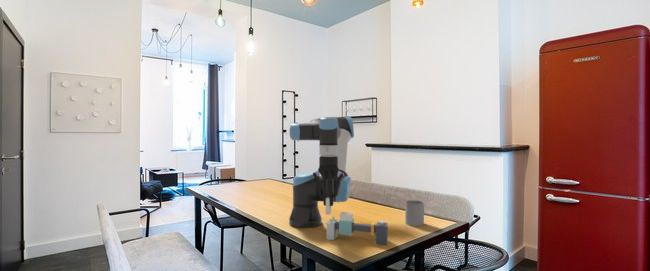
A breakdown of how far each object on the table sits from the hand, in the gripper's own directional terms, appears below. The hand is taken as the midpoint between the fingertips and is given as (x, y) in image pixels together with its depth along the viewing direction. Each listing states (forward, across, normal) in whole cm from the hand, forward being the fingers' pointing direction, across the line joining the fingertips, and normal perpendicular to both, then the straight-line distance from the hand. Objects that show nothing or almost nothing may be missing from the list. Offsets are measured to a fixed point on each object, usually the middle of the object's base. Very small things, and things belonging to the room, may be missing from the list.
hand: (328, 213), depth 130 cm
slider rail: (+10, +12, 0) cm, 15 cm away
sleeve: (+7, +8, 0) cm, 10 cm away
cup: (+10, +34, +30) cm, 46 cm away
